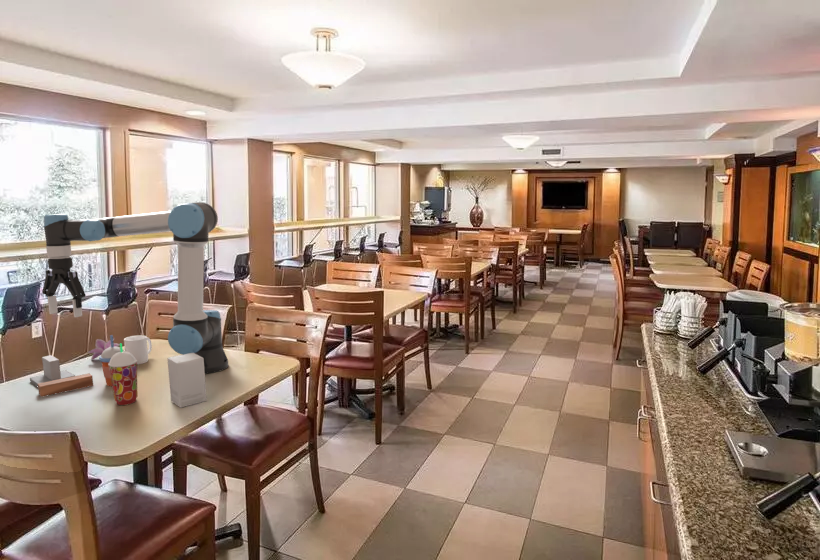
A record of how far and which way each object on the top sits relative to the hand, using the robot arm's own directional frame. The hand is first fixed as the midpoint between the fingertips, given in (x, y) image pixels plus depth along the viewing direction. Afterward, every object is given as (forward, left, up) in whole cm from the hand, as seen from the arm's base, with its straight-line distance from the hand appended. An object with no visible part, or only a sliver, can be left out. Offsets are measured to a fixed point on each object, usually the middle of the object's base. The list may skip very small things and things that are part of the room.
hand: (65, 315), depth 205 cm
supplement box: (-55, -18, -25) cm, 62 cm away
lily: (+18, -18, -25) cm, 35 cm away
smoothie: (-39, -4, -25) cm, 47 cm away
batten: (-10, +5, -25) cm, 27 cm away
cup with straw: (-17, -9, -25) cm, 32 cm away
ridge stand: (+5, +5, -25) cm, 26 cm away
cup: (+5, -27, -25) cm, 37 cm away
